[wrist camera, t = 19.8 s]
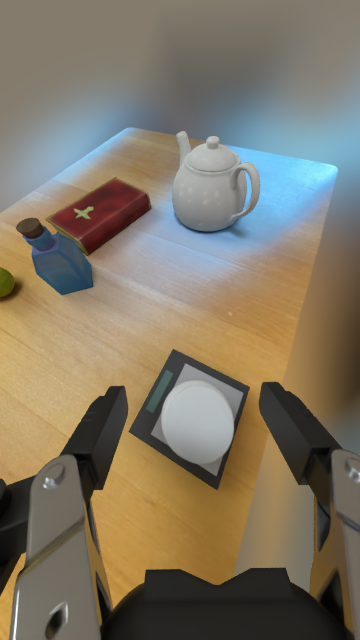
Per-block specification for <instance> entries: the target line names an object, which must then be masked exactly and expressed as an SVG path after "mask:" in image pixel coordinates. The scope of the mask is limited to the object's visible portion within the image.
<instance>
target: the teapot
mask: <svg viewBox="0 0 360 640" xmlns="http://www.w3.org/2000/svg"><path fill="white" fill-rule="evenodd" d="M176 139H177V140H178V143H179V147H180V168H179V170H178V172H177V175H176V177H175V180H174V184H173V191H172V201H173V207H174V211H175V214H176V216H177V218H178V219H179V220H180V221H181V222H182V223H183V224H184V225H186V226H187V227H189V228H191V229H194V230H199V231H217V230H221V229H224V228H226V227H228V226H230V225H232V224H233V223H234V222H235V221H236V220H237V218H240V217H242V216H245V215H247V214H248V213H250V212H251V211H252V210H253V209H254V207H255V206H256V204H257V201H258V198H259V194H260V178H259V174H258V171H257V169H256V167H255V166H254V165H253V164H251V163H248V162H246V163H242V164H241V163H240V162H241V161H240V157H239V156H238V155H237V154H236V153H234V152H233V151H231V150H230V149H229V148H227V147H226V146H224V145H221V144H219V142H220V140H219V138H218V137H215V136H212V137H209V138H208V139H207V143H205V144H202V145H199V146H197V147H195V148H194V149H193V150H192V151H191V147H190V144H189V140H188V137H187V134H186V132H185V131H181V132H179V133H177V135H176ZM244 170H245V171H246V172H247V173H248V174H249V176H250V179H251V186H252V194H251V200H250V203H249V205H248V207H247V208H246V209H245V210H244V211H242V209H243V207H244V203H245V199H246V193H247V182H246V176H245V172H244Z"/></svg>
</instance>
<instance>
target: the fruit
mask: <svg viewBox="0 0 360 640" xmlns="http://www.w3.org/2000/svg"><path fill="white" fill-rule="evenodd" d="M13 287H14V279H13V276H12V274H11V273H10V272H8V271H7V270H5V269H3V268H1V267H0V297H4V296H6V295H8V294H10V293H11V292H12V290H13Z"/></svg>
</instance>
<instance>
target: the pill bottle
mask: <svg viewBox="0 0 360 640" xmlns="http://www.w3.org/2000/svg"><path fill="white" fill-rule="evenodd" d="M161 425H162V431H163V434H164V437H165V439H166V441H167V443H168V445H169V446H170V447H171V449H172V450H173V451H174V452H175V453H176V454H177V455H178V456H180V457H181V458H183V459H185V460H187V461H189V462H192V463H195V464H208V463H212V462H214V461H216V460H218V459H219V458H221V457H222V456H223V455H224V454H225V452H226V451H227V450H228V448H229V446H230V444H231V442H232V438H233V433H234V420H233V413H232V409H231V406H230V404H229V402H228V400H227V398H226V397H225V395H224V394H223V393H222V392H221V391H220V390H219V389H218V388H217V387H216V386H214V385H213V384H211V383H209V382H207V381H203V380H195V379H194V380H188V381H185V382H182V383H180V384H179V385H177V386H176V387H175V388H173V389H172V391H171V392H170V393H169V394H168V396H167V398H166V400H165V402H164V404H163V408H162V413H161Z"/></svg>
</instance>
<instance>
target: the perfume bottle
mask: <svg viewBox="0 0 360 640" xmlns="http://www.w3.org/2000/svg"><path fill="white" fill-rule="evenodd" d="M16 229H17V231H18V232H20V233H21V234H23V238H24V239H25V240H26V241H27V242H28V243H29V244H30V245H32V259H33V263H34V266H35V270H36V274H37V275H38V276H40V277H41V278H42V279H43V280H44V281H46V282H47V283H48V284H49V285H50V286H51V287H53V288H54V289H55V290H56V291H57V292H59V293H60V294H61V295H64V294H67V293H71V292H75V291H79V290H83V289H87V288H91V287H93V282H92V273H91V265H90V263H89V262H88V260H87V259H86V258H85V256H84V255H83V253H82V252H81V250H80V249H79V247H78V246H77V245H76V243H75V242H74V240H72V239H69V238H67V237H65V236H63V235H60V234H54V235H51V233H50V232H49V231H48V229H47V228H46V227H45V226H43V225H41V223H40V221H39V220H38V219H36V218H28V219H25V220H22V221H21V222H19V223H18V225H17V227H16Z"/></svg>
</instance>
